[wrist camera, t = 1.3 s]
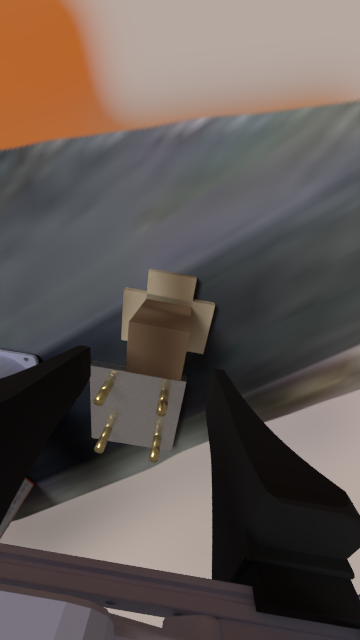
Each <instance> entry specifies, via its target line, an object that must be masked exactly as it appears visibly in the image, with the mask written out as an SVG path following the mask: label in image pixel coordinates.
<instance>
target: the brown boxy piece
mask: <svg viewBox="0 0 360 640" xmlns="http://www.w3.org/2000/svg"><path fill="white" fill-rule="evenodd" d="M196 281H197V277H195V276H189V275H183V274H178V273H172V272H166V271H161V270H155V269H150V270H149V275H148V286H147V291H145V290H139V289H134V288H128V287H126V288H125V289H124V296H123V316H122V336H121V340H126V341H128V343H127V358H126V372H129V373H135V374H141V375H146V376H152V377H158V378H164V379H169V380H175V381H181V376H182V371H183V366H184V361H185V357H186V352H187V351H189V352H194V353H200V354H203V353H204V349H205V345H206V341H207V337H208V333H209V329H210V325H211V321H212V316H213V312H214V308H215V303H213V302H208V301H202V300H196V299H193V296H194V291H195V286H196Z"/></svg>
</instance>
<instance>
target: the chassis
mask: <svg viewBox="0 0 360 640" xmlns="http://www.w3.org/2000/svg"><path fill="white" fill-rule="evenodd" d="M186 380H187V375H182V376H181V381H175V380H169V379H164V378H158V377H152V376H146V375H141V374H135V373H129V372H126V365H122V364H116V363H110V362H104V361H98V360H94V361H93V362H92V363H91V377H90V393H91V427H92V438H96V439H99V440H98V442H97V444H96V446H95V448H94V450H95V452H97V453H102V452H103V451H104V448H105V446H106V444H107V441H114V442H120V443H126V444H132V445H138V446H143V447H149V448H151V450H150V455H149V460H150V461H151V462H157V461H158V457H159V451H160V449H161V450H167V451H172V446H173V442H174V437H175V432H176V428H177V423H178V418H179V414H180V409H181V405H182V400H183V395H184V391H185V386H186Z"/></svg>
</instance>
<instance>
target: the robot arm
mask: <svg viewBox="0 0 360 640" xmlns="http://www.w3.org/2000/svg"><path fill="white" fill-rule="evenodd" d="M27 358H28V359H27ZM90 377H91V356H90V347H86V346H81V345H80V346H77V347H75V348H72V349H70V350H68V351H66V352H64V353H61V354H59V355H57V356H55V357H53V358H51V359H48V360H46V361H44V362H42V363H39V362H38V358H37V357H36V356H35V355H31V354H25V353H20V352H14V351H8V350H2V349H0V525H1V523H2V521H3V519H4V517H5V515H6V513H7V511H8V510H9V508H10V506H11V504H12V502H13V500H14V498H15V496H16V494H17V493H18V491H19V489H20V487H21V485H22V483H23V482H24V480H25V478H26V476H27V474H28V473H29V471H30V469H31V467H32V466H33V464H34V462H35V460H36V459H37V457H38V455H39V454H40V452H41V450H42V449H43V447H44V445H45V444H46V442H47V440H48V439H49V437H50V435H51V434H52V432H53V431H54V429H55V428H56V427H57V425H58V424H59V422H60V421H61V420H62V418H63V417H64V416H65V414H66V413H67V412H68V410H69V409H70V408H71V406H72V405H73V404H74V402H75V401H76V399H77V398H78V397H79V395H80V394H81V392H82V391H83V389H84V388H85V386H86V384H87V382H88V380H89V378H90ZM206 418H207V427H208V435H209V443H210V452H211V464H212V466H211V467H212V533H213V534H212V579H206V578H200V577H194V576H188V575H183V574H177V573H171V572H165V571H159V570H153V569H148V568H142V567H136V566H130V565H124V564H118V563H113V562H107V561H101V560H95V559H90V558H84V557H78V556H72V555H66V554H60V553H55V552H49V551H43V550H37V549H31V548H25V547H19V546H14V545H8V544H2V543H0V640H360V594H359V595H357V593H356V590H355V589H354V586H353V584H352V582H351V579H353V578H354V572H353V570H352V568H351V566H350V564H349V562H348V560H347V558H349V557H350V556H351V555H352V554H353V553H354V552H356V551H357V550H358V549H359V548H360V515H359V513H358V512H357V510H356V508H355V507H354V505H353V503H352V502H351V500H350V498H349V497H348V495H347V494H346V492H345V491H344V490H342V489H341V488H340V487H338V486H337V485H336V484H334V483H333V482H331V481H330V480H329V479H327V478H326V477H325V476H323V475H322V474H321V473H319V472H318V471H317V470H315V469H314V468H313V467H311V466H310V465H309V464H308V463H307V462H306V461H304V460H303V459H302V458H301V457H299V456H298V455H297V454H296V453H295V452H294V451H292V450H291V449H290V448H289V447H288V446H287V445H286V444H284V443H283V442H282V440H280V439H279V438H278V437H277V436H276V435H275V434H274V433H273V432H272V431H271V430H270V429H269V428H268V427H267V426H266V425H265V424H264V422H263V421H262V420H261V419H260V418H259V417H258V416H257V415H256V414H255V412H254V411H253V410H252V409H251V408H250V406H249V405H248V404H247V403H246V401H245V400H244V399H243V397H242V396H241V395H240V393H239V392H238V390H237V389H236V388H235V386H234V385H233V383H232V382H231V380H230V379H229V377H228V376H227V374H226V373H225V371H224V370H220V369H214V368H213V372H212V375H211V379H210V382H209V386H208V390H207V393H206ZM104 607H106V608H112V609H118V610H124V611H130V612H135V613H141V614H147V615H153V616H159V617H165V619H164V621H163V627H162V628H160V627H156V626H152V625H149V624H146V623H142V622H138V621H135V620H132V619H128V618H125V617H121V616H118V615H115V614H111V613H109V612H108V610H107V609H106V608H104Z"/></svg>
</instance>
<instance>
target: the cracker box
mask: <svg viewBox="0 0 360 640" xmlns="http://www.w3.org/2000/svg"><path fill="white" fill-rule="evenodd" d="M33 486H34V483H33V482H32V481H31V480H29V479H28V478H27V477H26V478H25V480H24V482H23V483H22V485H21V487H20V489H19V491H18V493H17V494H16V496H15V498H14V500H13V502H12V504H11V506H10V508H9V510H8V511H7V513H6V515H5V517H4V519H3V521H2V523H1V525H0V538H1V537H2V535H3V534H4V532H5V530H6V529H7V527H8V526H9V524H10V523H11V521H12V519H13V518H14V516H15V515H16V513H17V512H18V510H19V508H20V507H21V505H22V503H23V502H24V500H25V499H26V497H27V496H28V494H29V492H30V491H31V489H32V488H33Z"/></svg>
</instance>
